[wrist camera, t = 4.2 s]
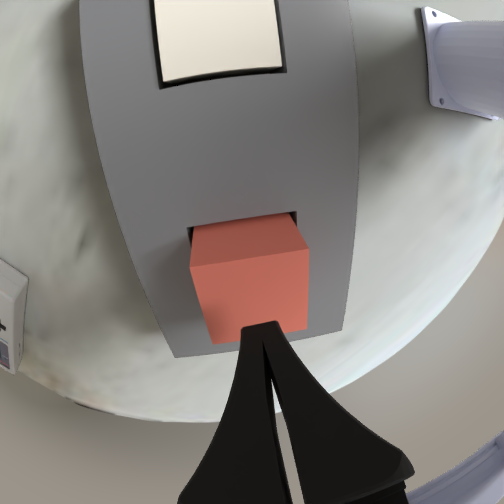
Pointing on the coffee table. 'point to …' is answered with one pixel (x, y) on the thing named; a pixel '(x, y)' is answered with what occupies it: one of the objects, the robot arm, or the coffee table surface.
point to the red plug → (250, 274)
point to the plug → (216, 38)
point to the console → (227, 154)
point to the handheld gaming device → (11, 316)
